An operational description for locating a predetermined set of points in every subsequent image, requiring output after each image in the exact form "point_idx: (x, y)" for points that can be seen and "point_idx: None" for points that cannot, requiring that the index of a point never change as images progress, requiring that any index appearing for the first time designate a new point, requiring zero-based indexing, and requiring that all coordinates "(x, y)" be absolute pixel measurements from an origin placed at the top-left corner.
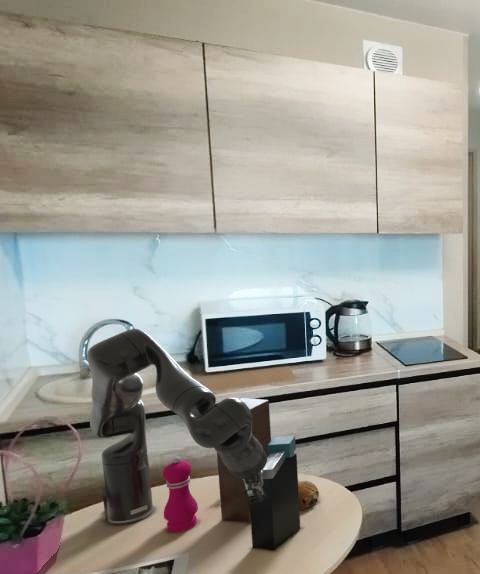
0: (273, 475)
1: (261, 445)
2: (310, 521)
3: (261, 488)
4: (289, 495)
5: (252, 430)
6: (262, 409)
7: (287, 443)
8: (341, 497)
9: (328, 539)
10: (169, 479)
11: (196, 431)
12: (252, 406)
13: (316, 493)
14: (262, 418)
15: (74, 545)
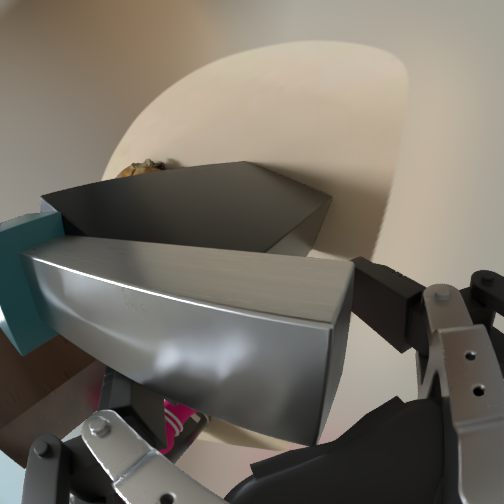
0: (324, 267)
1: (30, 480)
2: (218, 147)
3: (456, 319)
4: (209, 184)
5: (19, 372)
6: None
7: None
8: (142, 119)
9: (302, 79)
10: (173, 443)
11: None
12: None
13: (136, 165)
14: None
15: (248, 445)
